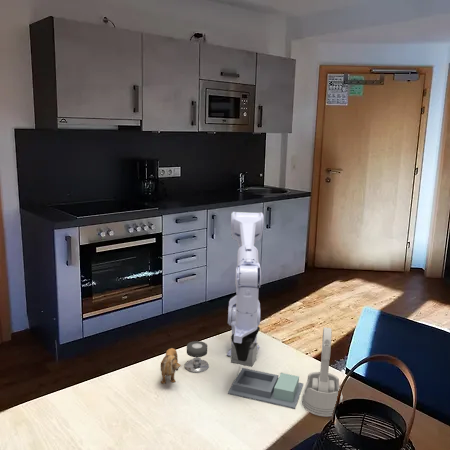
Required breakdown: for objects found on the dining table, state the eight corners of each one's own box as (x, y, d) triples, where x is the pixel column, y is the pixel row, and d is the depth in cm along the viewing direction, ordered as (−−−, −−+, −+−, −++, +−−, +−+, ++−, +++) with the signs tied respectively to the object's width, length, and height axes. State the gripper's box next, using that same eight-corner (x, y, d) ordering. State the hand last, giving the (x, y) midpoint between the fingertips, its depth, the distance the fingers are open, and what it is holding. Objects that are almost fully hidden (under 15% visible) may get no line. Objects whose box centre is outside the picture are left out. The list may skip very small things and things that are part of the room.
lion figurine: (180, 389, 125) (181, 359, 123) (160, 391, 124) (160, 360, 122) (178, 362, 139) (178, 334, 137) (160, 363, 139) (160, 335, 137)
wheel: (191, 345, 140) (191, 339, 140) (210, 349, 138) (210, 343, 138) (183, 355, 134) (183, 348, 134) (202, 359, 133) (202, 352, 132)
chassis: (241, 371, 135) (241, 361, 134) (303, 384, 129) (304, 373, 129) (227, 393, 124) (227, 382, 123) (294, 409, 118) (295, 397, 117)
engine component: (301, 413, 117) (342, 419, 115) (306, 337, 112) (349, 342, 110) (302, 389, 127) (340, 394, 125) (308, 319, 123) (347, 323, 121)
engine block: (235, 355, 130) (236, 335, 129) (256, 359, 128) (257, 339, 127) (230, 362, 126) (231, 342, 125) (252, 367, 124) (253, 346, 123)
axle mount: (190, 358, 142) (190, 351, 141) (212, 362, 139) (212, 356, 139) (180, 369, 135) (180, 362, 135) (203, 374, 133) (203, 367, 132)
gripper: (240, 297, 132) (239, 342, 135) (223, 317, 118) (221, 365, 121) (265, 301, 129) (262, 346, 132) (249, 321, 116) (247, 371, 119)
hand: (244, 356), depth 127 cm, fingers closed on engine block, 4 cm apart
